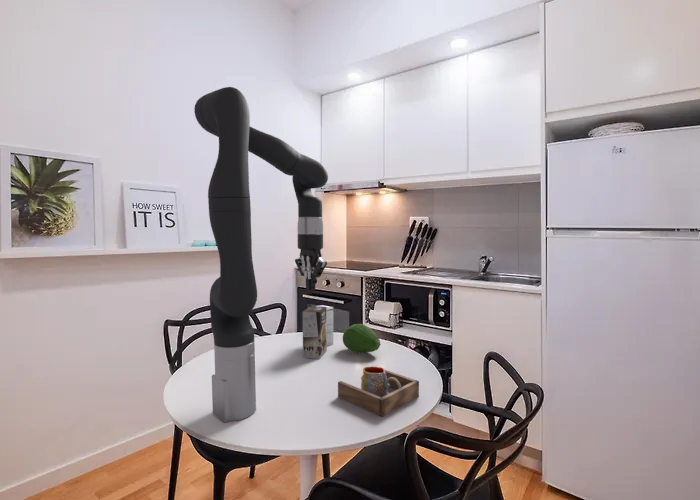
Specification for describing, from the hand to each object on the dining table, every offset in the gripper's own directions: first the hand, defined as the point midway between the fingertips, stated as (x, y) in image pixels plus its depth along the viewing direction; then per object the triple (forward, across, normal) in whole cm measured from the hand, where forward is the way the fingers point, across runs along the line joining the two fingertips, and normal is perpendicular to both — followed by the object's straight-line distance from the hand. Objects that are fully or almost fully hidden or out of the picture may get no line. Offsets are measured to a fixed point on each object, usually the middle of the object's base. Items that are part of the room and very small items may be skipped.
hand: (310, 291), depth 112 cm
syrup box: (+26, -20, +22) cm, 39 cm away
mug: (+26, +24, +4) cm, 36 cm away
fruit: (+25, -3, +25) cm, 36 cm away
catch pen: (+25, +24, +4) cm, 35 cm away
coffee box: (+26, -14, +13) cm, 32 cm away
